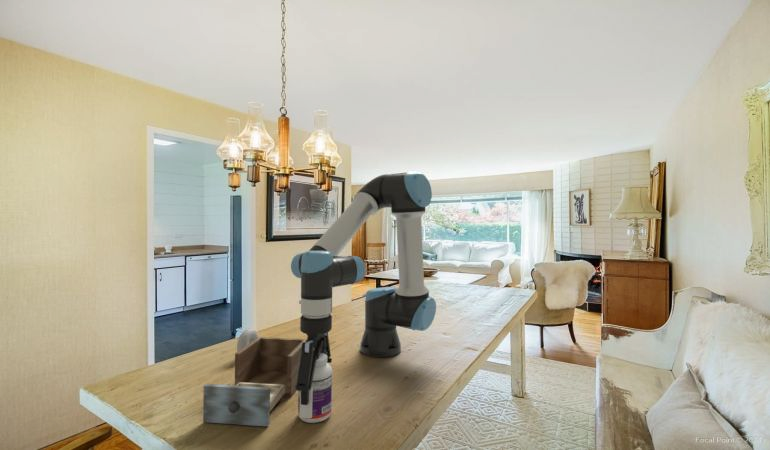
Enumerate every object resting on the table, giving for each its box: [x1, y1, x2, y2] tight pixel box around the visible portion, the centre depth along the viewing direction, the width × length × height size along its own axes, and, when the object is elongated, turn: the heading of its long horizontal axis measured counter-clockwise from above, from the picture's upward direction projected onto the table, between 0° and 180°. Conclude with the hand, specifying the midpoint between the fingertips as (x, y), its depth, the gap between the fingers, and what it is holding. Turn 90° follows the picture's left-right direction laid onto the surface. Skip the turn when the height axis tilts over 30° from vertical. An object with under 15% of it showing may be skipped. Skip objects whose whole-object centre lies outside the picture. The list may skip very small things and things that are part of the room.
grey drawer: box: [202, 382, 285, 427], centre depth 86 cm, size 16×15×8 cm
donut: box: [236, 327, 259, 353], centre depth 121 cm, size 10×4×10 cm, turn 168°
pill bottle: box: [297, 353, 333, 424], centre depth 84 cm, size 8×8×14 cm
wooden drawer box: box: [234, 336, 307, 398], centre depth 101 cm, size 16×14×11 cm
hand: (314, 401), depth 84 cm, fingers open, 13 cm apart
